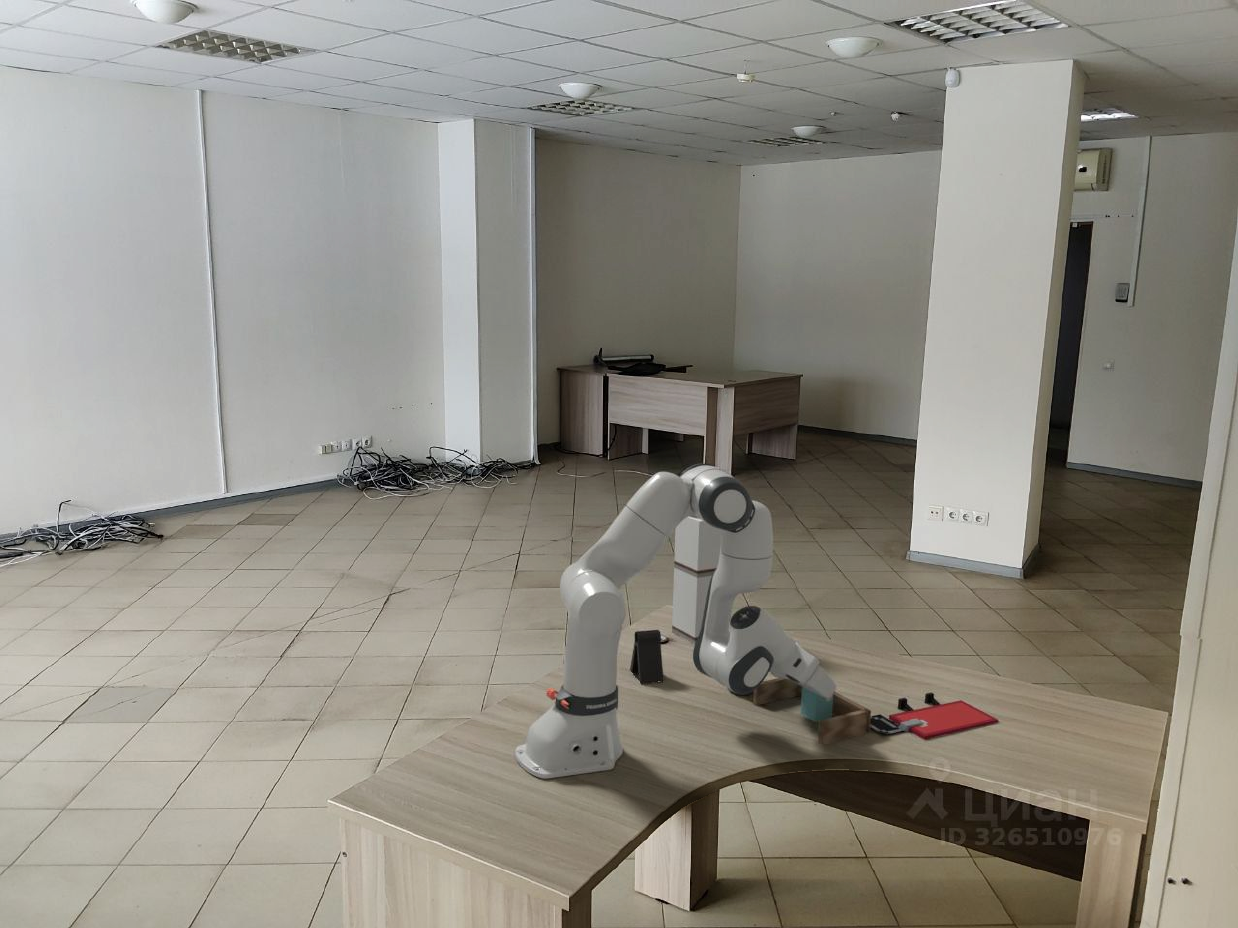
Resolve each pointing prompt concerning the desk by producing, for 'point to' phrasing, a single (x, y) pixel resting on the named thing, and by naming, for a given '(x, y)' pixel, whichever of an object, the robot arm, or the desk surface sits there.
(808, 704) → the teal block
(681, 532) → the white striped pillar
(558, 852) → the desk surface
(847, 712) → the walnut u-shaped frame
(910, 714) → the red board with handle
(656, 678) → the phone stand
